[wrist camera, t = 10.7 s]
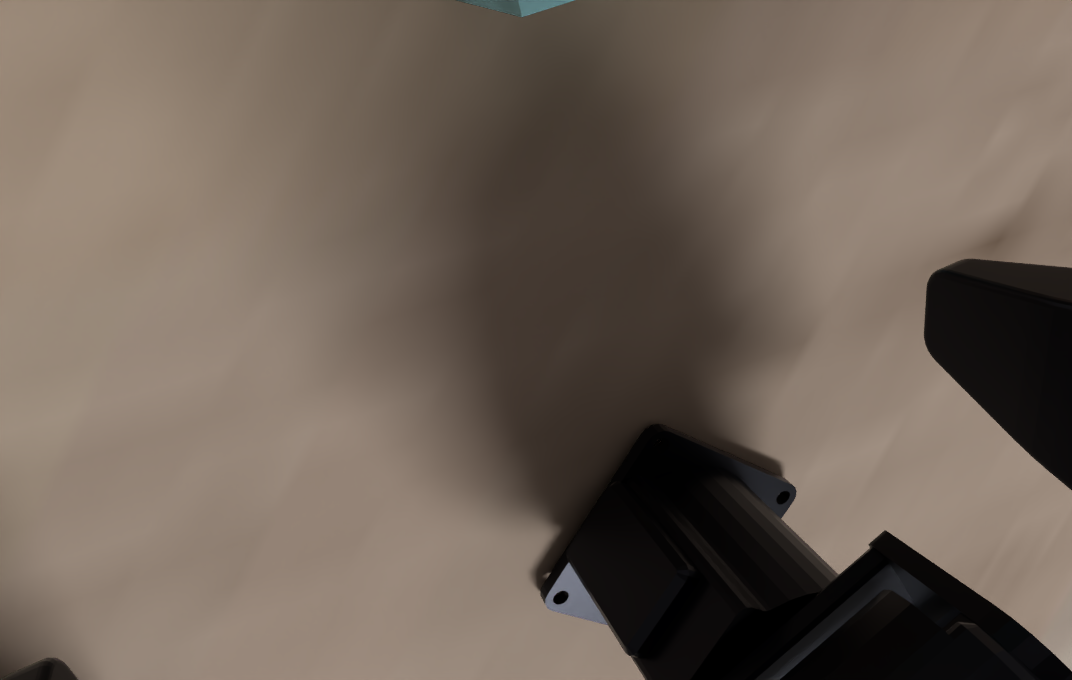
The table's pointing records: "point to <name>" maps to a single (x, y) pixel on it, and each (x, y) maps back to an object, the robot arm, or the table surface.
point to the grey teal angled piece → (517, 5)
